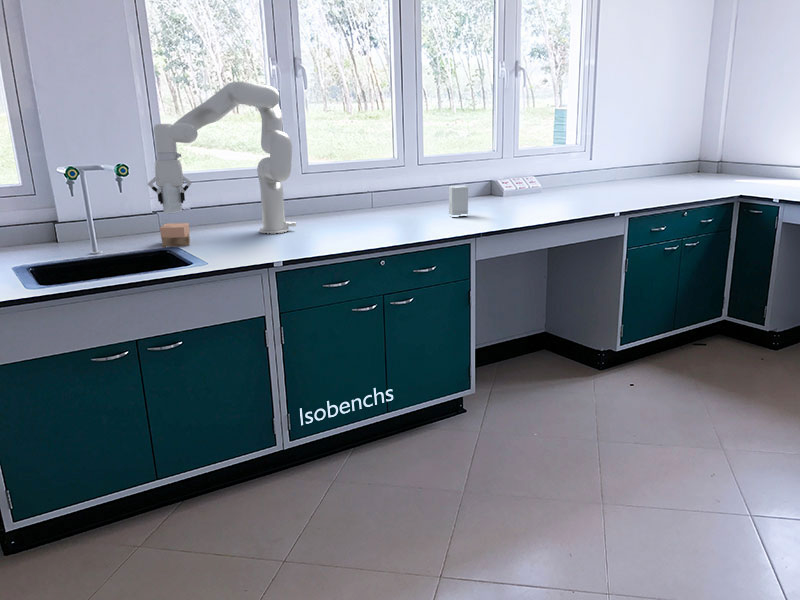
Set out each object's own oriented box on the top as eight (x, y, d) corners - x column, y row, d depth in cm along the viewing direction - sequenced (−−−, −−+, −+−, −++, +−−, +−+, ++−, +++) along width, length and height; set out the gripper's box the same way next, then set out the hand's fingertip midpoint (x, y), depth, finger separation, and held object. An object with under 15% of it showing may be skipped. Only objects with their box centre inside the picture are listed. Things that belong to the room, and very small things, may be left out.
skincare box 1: (176, 210, 261) (173, 180, 258) (182, 212, 259) (179, 181, 255) (162, 212, 257) (159, 182, 253) (169, 214, 254) (165, 183, 251)
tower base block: (190, 241, 268) (189, 232, 267) (189, 246, 259) (188, 236, 257) (164, 243, 265) (163, 233, 264) (162, 248, 256) (161, 238, 255)
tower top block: (189, 232, 265) (188, 223, 264) (184, 237, 257) (183, 227, 255) (166, 233, 264) (165, 223, 263) (161, 237, 256) (160, 227, 255)
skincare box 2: (464, 215, 321) (465, 184, 316) (468, 217, 315) (469, 186, 311) (447, 216, 319) (448, 185, 314) (451, 218, 313) (452, 187, 309)
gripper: (191, 155, 257) (195, 200, 262) (144, 156, 253) (149, 202, 258) (190, 157, 250) (194, 203, 256) (142, 158, 246) (147, 205, 251)
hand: (171, 202), depth 257 cm, fingers closed on skincare box 1, 7 cm apart
